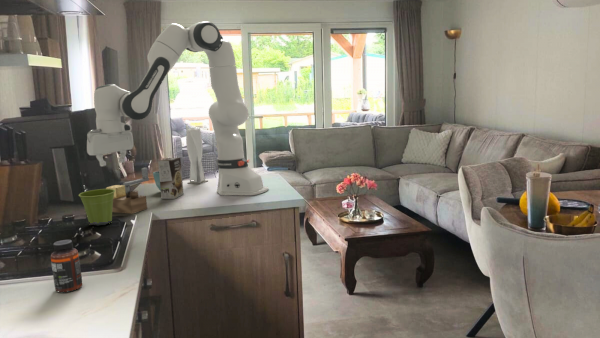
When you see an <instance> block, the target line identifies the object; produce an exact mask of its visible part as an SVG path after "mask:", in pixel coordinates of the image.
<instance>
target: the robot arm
mask: <svg viewBox="0 0 600 338" xmlns="http://www.w3.org/2000/svg"><path fill="white" fill-rule="evenodd" d="M186 50H187V51H188V52H189V51H190V52H192V53H198V52H204V53H205V55H206V56H207V59H208V67H209V68H208V69H209V77H210V83H211V84H210V85H211V86H210V87H211V89H212V90H213V92H214V95H215V99H216V100H217V101H215V102H213V103H212V104H211V105H210V107H209V108H208V117H209V119H210V120H211V124H212V127H213V131H214V135H215V140H216V148H217V149H216V150H217V159H216V161H217V170H218V182H217V189H216V193H218V194H219V196H257V195H260V194H263V193H265V192H268V191H269V187H268V186H264V182H263V179H262V176H261V174H259V173H257V172H256V171H255V170H253V169H252V168H251V167H250V166H249V164H248V163H249V162H250V159H246V158H245V152H244V150H245V149H244V140H243V139H244V138H243V137H242V135H241V133H240V129H239V126H242V125H243V124H245V123H246V121H247V120H248V116H249V110H248V107H247V106H246V104H245V102H244V99H243V96H242V93H241V89H240V86H239V82H238V71H237V62H236V58H235V53H234V49H233V46H232V44H231V42H230V41H229V40H227V39H224V38H223V36H222V34H221V33H220V29H219V28H218V27H217V25H216V24H215V23H213V22H210V21H204V20H203V21H200V22H196V23H193V24H192V25H190V26H188V27H186V28H185V27H184V26H183V25H181V24H178V23H170V24H168V25H167V26H166V27H165V28H164V29H163V30H162V32H160V34H159V35H158V36H157V37H156V39H155V40H154V42H153V43H152V45H151V47H150V49H149V51H148V54H147V57H146V58H147V62H148V65H149V66H148V70H147V72H146V73H145V76H144V77H143V79H141V80H142V81H141V82H140V83H139V85H138V87H137V88H136V89H135V90H133V91H128V90H126V89H124V88H121V87H119V86H118V85H116V83H115V84H114V83H109V84H103V85H99V86H97V87H95V89H94V93H93V101H94V102H93V104H94V110H95V114H96V118H95V124H96V129H91V130H89V131H88V132H87V135H86V137H87V140H86V153H87V154H88V155H89V156H95V158H96V160H97V161H98V162H99V166H100V167H106V166H107V160H106V161H105V160H104V158H103V157H104V155H105V154H111V153H117V152H119V154H120V156H119V157H117V158H118V163H125V162H126V159H125V158H126V155H127V151H128V150H132V149H133V148H134V137H133V135H134V134H133V132H132V125H131V124H128V123H125V122H122V117H125V118H130V119H131V120H135V121H138V120H139V121H140V120H144V119H145V118H147V117H148V116H149V115H150V113H151V111H152V107H153V101H154V98H155V95H156V94H157V92H158V90H159V88H160V86H161V85H162V83H163V82H164V80H165V78H166V76H167V75H168V74H169V72H171V70H172V68H173V67H174V66H175V65H176V64H177V62H178V61H179V59H180V58H181V56H182V55H183V53H184V52H185V51H186Z"/></svg>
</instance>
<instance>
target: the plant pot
mask: <svg viewBox="0 0 600 338" xmlns="http://www.w3.org/2000/svg"><path fill="white" fill-rule="evenodd" d="M114 192H115V190H114V189H106V188H100V189H92V190H86V191H84V192H83V191H82V192H79V194H78V197H79V198H80V200H81V203H82V204H83V207H84V212H85V213H86V219H87V221H88V223H89V222H90V223H93V222H97V223H99V222H108V221H112V220H113V212H112V207H113V198H114ZM112 222H113V221H112Z"/></svg>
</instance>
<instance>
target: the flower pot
mask: <svg viewBox="0 0 600 338" xmlns="http://www.w3.org/2000/svg"><path fill="white" fill-rule="evenodd" d="M152 175H153V180H154V183H155V185H156V187H157V189H158V190H159V191H160V192H161V189H160V177H159V170H158V171H154V172H152Z"/></svg>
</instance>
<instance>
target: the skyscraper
mask: <svg viewBox="0 0 600 338" xmlns="http://www.w3.org/2000/svg"><path fill="white" fill-rule="evenodd" d="M185 127H186V128H185V132H186V134H185V135H186V138H185V139H186V141H185V142H186V151H187V156H188V160H189V163H190V167H189V169H190V170H189V181H188V182H187V184H188V185H201V184H204V183H207V182H209V180H207V179H205V172H204V168H203V164H202V159H203V152H204V151H203V150H204V148H203V145H204V144H203V139H202V137H203V136H202V132H201V131H202V130H201V128H200V127H199V126H197V127H196V126H191V127H189V125H188V123H186V124H185ZM191 180H194V181H191Z"/></svg>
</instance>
